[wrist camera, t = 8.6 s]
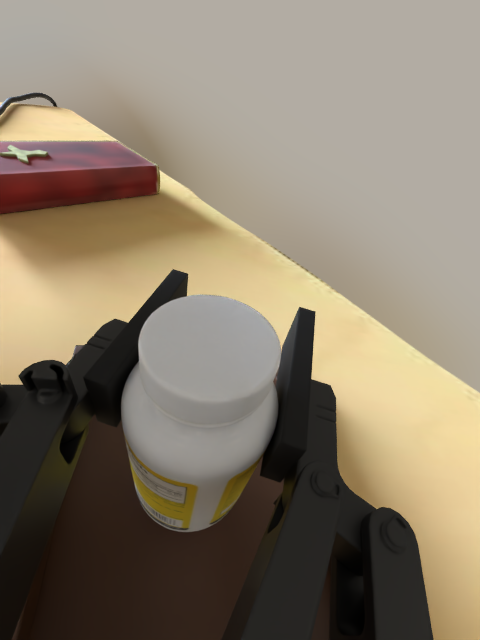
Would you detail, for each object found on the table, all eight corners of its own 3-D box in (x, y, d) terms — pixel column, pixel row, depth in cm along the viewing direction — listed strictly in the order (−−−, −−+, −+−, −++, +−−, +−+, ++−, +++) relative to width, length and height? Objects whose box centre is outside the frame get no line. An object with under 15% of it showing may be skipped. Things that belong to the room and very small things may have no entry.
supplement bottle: (234, 415, 17) (279, 284, 10) (252, 523, 13) (341, 423, 7) (138, 422, 16) (122, 276, 9) (128, 545, 12) (86, 446, 5)
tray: (80, 360, 19) (75, 344, 18) (268, 354, 23) (273, 340, 22) (-47, 851, 8) (-82, 887, 6) (378, 680, 11) (401, 686, 10)
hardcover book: (160, 194, 42) (159, 164, 39) (-15, 217, 30) (-34, 174, 27) (119, 167, 48) (117, 138, 45) (-43, 177, 35) (-61, 137, 32)
